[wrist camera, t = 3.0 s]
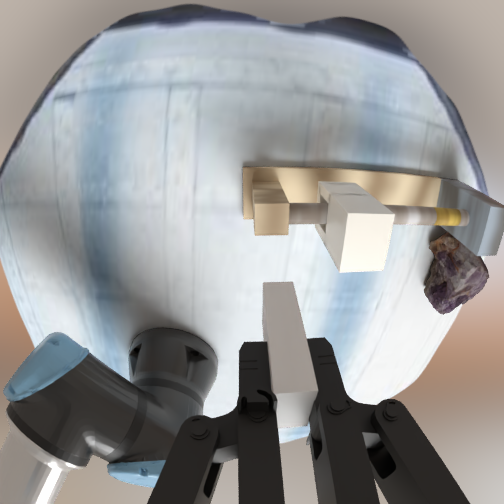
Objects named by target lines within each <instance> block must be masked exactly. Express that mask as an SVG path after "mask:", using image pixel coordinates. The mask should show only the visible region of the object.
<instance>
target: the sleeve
mask: <svg viewBox="0 0 504 504" xmlns="http://www.w3.org/2000/svg"><path fill="white" fill-rule="evenodd" d="M317 203H328V214H327V224H315V228H316V230H317V232H318V233H319V235H320V237H321V239H322V241H323V243H324V244H325V246H326V248H327V250H328V252H329V254H330V256H331V258H332V259H333V261H334V263H335V265H336V267H337V269H338V271H339V273H341V272H363V271H383V269H384V265H385V261H386V256H387V252H388V247H389V243H390V238H391V233H392V228H393V222H394V217H395V214H394V213H393V212H392V211H390V210H389V209H388V208H387V207H385V206H384V205H383V204H382V203H381V202H379V201H378V200H377V199H376V198H374V197H373V196H372V195H371V194H369V193H368V192H367V191H365V190H364V189H363V188H362V187H360V186H359V185H358V184H356V183H351V182H325V181H318V195H317Z"/></svg>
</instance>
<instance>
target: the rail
mask: <svg viewBox="0 0 504 504" xmlns="http://www.w3.org/2000/svg"><path fill="white" fill-rule="evenodd" d="M318 181H325V182H351V183H356V184H358V185H359V186H360V187H362V188H363V189H364V190H365V191H367V192H368V193H369V194H371V195H372V196H373V197H374V198H376V199H377V200H378V201H379V202H381V203H382V204H383V205H384V206H385V207H387V208H388V209H389V210H390V211H392V212H393V213H394V214H395V217H394V222H393V224H400V225H440V226H441V227H443V228H444V229H445V230H446V231H448V232H449V233H450V234H451V235H453V236H454V237H455V238H456V239H457V240H459V241H460V242H461V243H462V244H463V245H465V246H466V247H467V248H468V249H469V250H470V251H472V252H473V253H474V254H475V255H476V256H488V255H489V256H490V255H496V254H497V251H498V248H499V245H500V242H501V239H502V235H503V232H504V205H502V204H501V203H499V202H497V201H496V200H494V199H492V198H490V197H489V196H487V195H485V194H483V193H481V192H480V191H478V190H476V189H474V188H472V187H470V186H468V185H466V184H464V183H462V182H460V181H458V180H453V179H446V178H439V177H431V176H423V175H415V174H405V173H395V172H384V171H372V170H358V169H341V168H317V167H243V211H244V219H253V220H254V231H255V236H259V235H288V228H289V224H327V214H328V203H317V195H318Z"/></svg>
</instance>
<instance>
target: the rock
mask: <svg viewBox="0 0 504 504" xmlns="http://www.w3.org/2000/svg"><path fill="white" fill-rule="evenodd" d="M429 249H430V250H431V251H432V252H433V254H434V255H435V258H436V259H435V260H434V262H433V264H432V266H431V269H430V271H431V276H430V278H429V279H428V280H427V282H426V287H425V289H424V293H425V295H426V297H427V298H428V300H429V302H430V303H431V304H432V305H433V308H435V309H436V311H438V312H439V313H440V314H445V313H449V312H451V311H452V310H454V309H455V308H456V307H458V306H459V305H460V304H461V303H462V304H464V303H466V302H467V301H468V300H470V299H472V298H473V297H474V296H475V295H476V294H478V293H479V292H480V291H481V290H482V289H483V287H484V286H485V283H486V282H487V279H488V278H489V274H488V270H487V267H486V265H485V264H484V262H483V260H482V258H481V256H476V255H475V254H474V253H473V252H472V251H470V250H469V249H468V248H467V247H466V246H465V245H463V244H462V243H461V242H460V241H459V240H457V239H456V238H455V237H454V236H453V235H451V234H450V233H449V232H446V233H445V234H443V235H442V236H441V237H439V238H438V239H436V240H434V241H431V242H430V246H429Z"/></svg>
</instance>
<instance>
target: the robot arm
mask: <svg viewBox="0 0 504 504" xmlns="http://www.w3.org/2000/svg"><path fill="white" fill-rule="evenodd" d="M262 325H263V338H264V342H244V343H243V345H242V347H241V349H240V350H239V397H238V401H237V406H236V407H235V409H234V410H233V411H231V412H230V413H228V414H226V415H223V416H220V417H216V418H210V417H207V416H205V415H203V405H204V401H205V399H206V397H207V395H208V393H209V391H210V390H211V388H212V386H213V384H214V382H215V380H216V377H217V369H218V360H217V357H216V354H215V353H214V351H213V350H212V348H211V347H210V346H209V345H208V344H207V343H205V342H204V341H203V340H201V339H200V338H198V337H196V336H194V335H192V334H190V333H187V332H184V331H181V330H177V329H170V328H156V329H150V330H147V331H144V332H142V333H141V334H139V335H138V336H137V337H136V338H135V339H134V341H133V343H132V346H131V349H130V351H129V358H128V359H129V375H130V382H129V381H128V380H126V379H125V378H124V377H122V376H121V375H119V374H118V373H116V372H115V371H114V370H112V369H111V368H109V367H108V366H107V365H105V364H104V363H103V362H101V361H100V360H99V359H97V358H96V357H95V356H93V355H92V354H91V353H89V350H88V349H87V348H83V347H82V346H80V345H79V344H78V343H76V342H75V341H74V340H72V339H71V338H70V337H68V336H67V335H66V334H64V333H61V332H54V333H51V334H49V335H48V336H47V337H46V338H45V339H44V340H43V341H42V342H41V343H40V344H39V345H38V346H37V347H36V348H35V349H34V350H33V351H32V352H31V354H30V355H29V356H28V357H27V358H26V359H25V361H24V362H23V363H22V364H21V365H20V367H19V368H18V369H17V371H16V372H15V374H14V375H13V376H12V378H11V379H10V380H9V382H8V383H7V384H6V386H5V388H4V390H3V393H4V395H5V396H6V398H7V400H9V401H10V404H9V405H8V407H7V409H6V416H7V419H8V422H9V425H10V431H9V433H8V435H7V437H6V440H5V442H4V444H3V446H2V448H1V451H0V504H54V502H55V500H56V497H57V495H58V493H59V491H60V489H61V487H62V485H63V483H64V481H65V479H66V477H67V475H68V473H69V471H70V470H75V469H84V468H85V467H86V466H87V464H88V462H89V460H90V458H91V456H92V455H95V456H98V457H100V458H102V459H104V460H106V461H108V462H109V464H108V465H107V468H108V473H109V475H110V476H113V477H114V478H116V479H118V480H120V481H124V482H127V483H131V484H135V485H140V486H145V487H152V488H154V489H153V491H152V494H151V496H150V498H149V500H148V503H147V504H210V503H211V499H212V497H213V494H214V491H215V488H216V485H217V481H218V479H219V476H220V473H221V470H222V467H223V463H224V462H226V461H230V460H233V459H236V458H238V481H239V504H285V501H284V490H283V478H282V467H281V457H280V446H279V435H278V428H290V427H301V426H307V425H308V422H309V424H310V433H309V436H308V439H307V444H306V445H309V444H310V448H311V454H312V461H313V467H314V475H315V482H316V489H317V496H318V504H380V502H379V498H378V493H377V489H376V485H375V480H376V482H377V484H378V486H379V488H380V489H381V491H382V493H383V495H384V496H385V498H386V500H387V502H388V504H470V503H469V501H468V500H467V498H466V497H465V495H464V493H463V492H462V490H461V489H460V487H459V485H458V484H457V482H456V481H455V479H454V478H453V476H452V475H451V473H450V472H449V470H448V469H447V467H446V465H445V464H444V462H443V461H442V459H441V458H440V457H439V455H438V454H437V452H436V451H435V449H434V448H433V446H432V445H431V443H430V442H429V440H428V439H427V437H426V436H425V434H424V433H423V432H422V430H421V429H420V427H419V426H418V424H417V423H416V421H415V420H414V418H413V417H412V416H411V414H410V413H409V411H408V410H407V408H406V407H405V406H404V405H403V404H402V403H401V402H400V401H397V400H395V399H386V400H383V401H381V402H380V403H379V404H378V405H370V404H362V403H358V402H356V401H354V400H352V399H351V398H350V397H349V396H348V395H347V393H346V391H345V388H344V385H343V382H342V378H341V375H340V371H339V368H338V365H337V361H336V358H335V356H334V351H333V348H332V345H331V344H330V343H329V342H328V341H327V340H326V338H325V337H324V338H310V339H307V338H306V334H305V330H304V325H303V321H302V317H301V313H300V309H299V305H298V301H297V296H296V292H295V288H294V284H293V282H267V283H263V315H262ZM374 479H375V480H374Z"/></svg>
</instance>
